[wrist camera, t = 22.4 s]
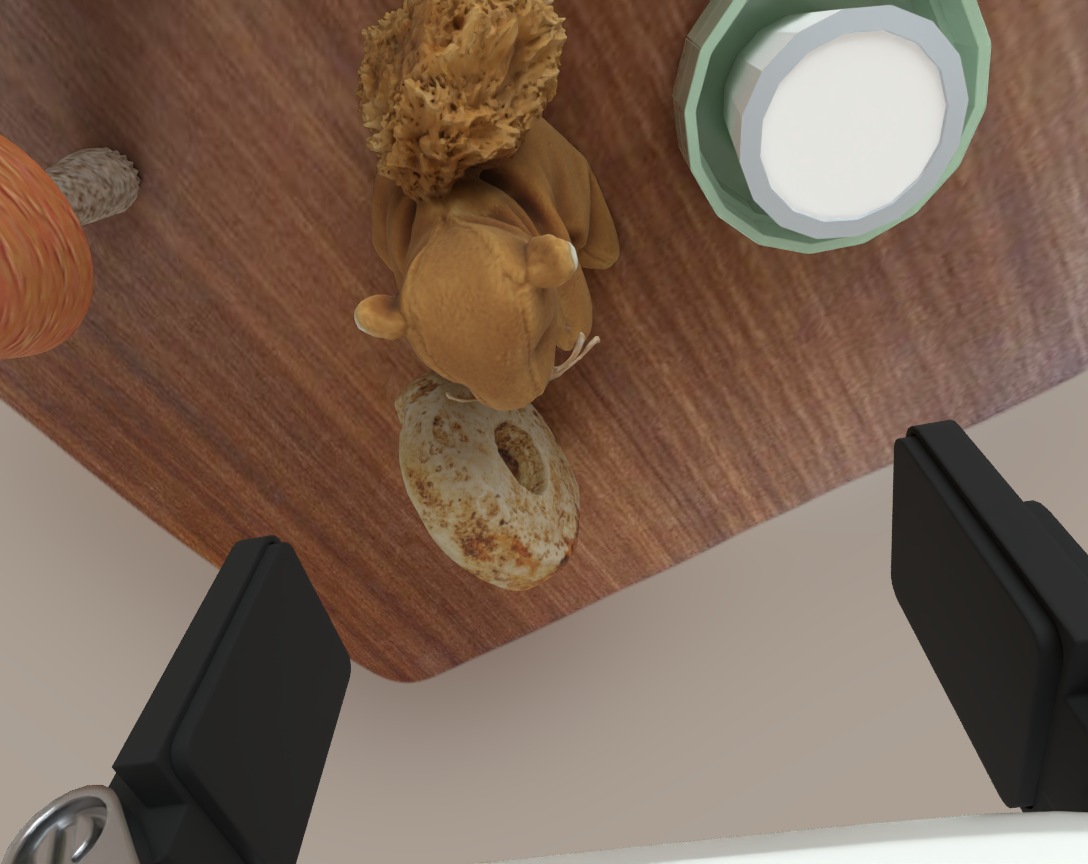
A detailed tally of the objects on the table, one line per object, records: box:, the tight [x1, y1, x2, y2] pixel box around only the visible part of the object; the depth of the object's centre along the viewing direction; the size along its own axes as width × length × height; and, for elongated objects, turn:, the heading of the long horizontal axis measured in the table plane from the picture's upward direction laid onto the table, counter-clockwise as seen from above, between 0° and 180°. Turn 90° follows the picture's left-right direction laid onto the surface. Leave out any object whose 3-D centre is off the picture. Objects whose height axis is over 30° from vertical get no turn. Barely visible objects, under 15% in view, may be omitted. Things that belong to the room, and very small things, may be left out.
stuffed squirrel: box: [354, 0, 620, 411], centre depth 26 cm, size 10×14×13 cm
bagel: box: [394, 369, 580, 591], centre depth 34 cm, size 10×4×10 cm, turn 38°
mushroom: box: [0, 135, 141, 359], centre depth 26 cm, size 8×8×15 cm
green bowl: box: [672, 0, 991, 254], centre depth 28 cm, size 10×10×4 cm
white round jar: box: [723, 5, 969, 239], centre depth 26 cm, size 7×7×7 cm
